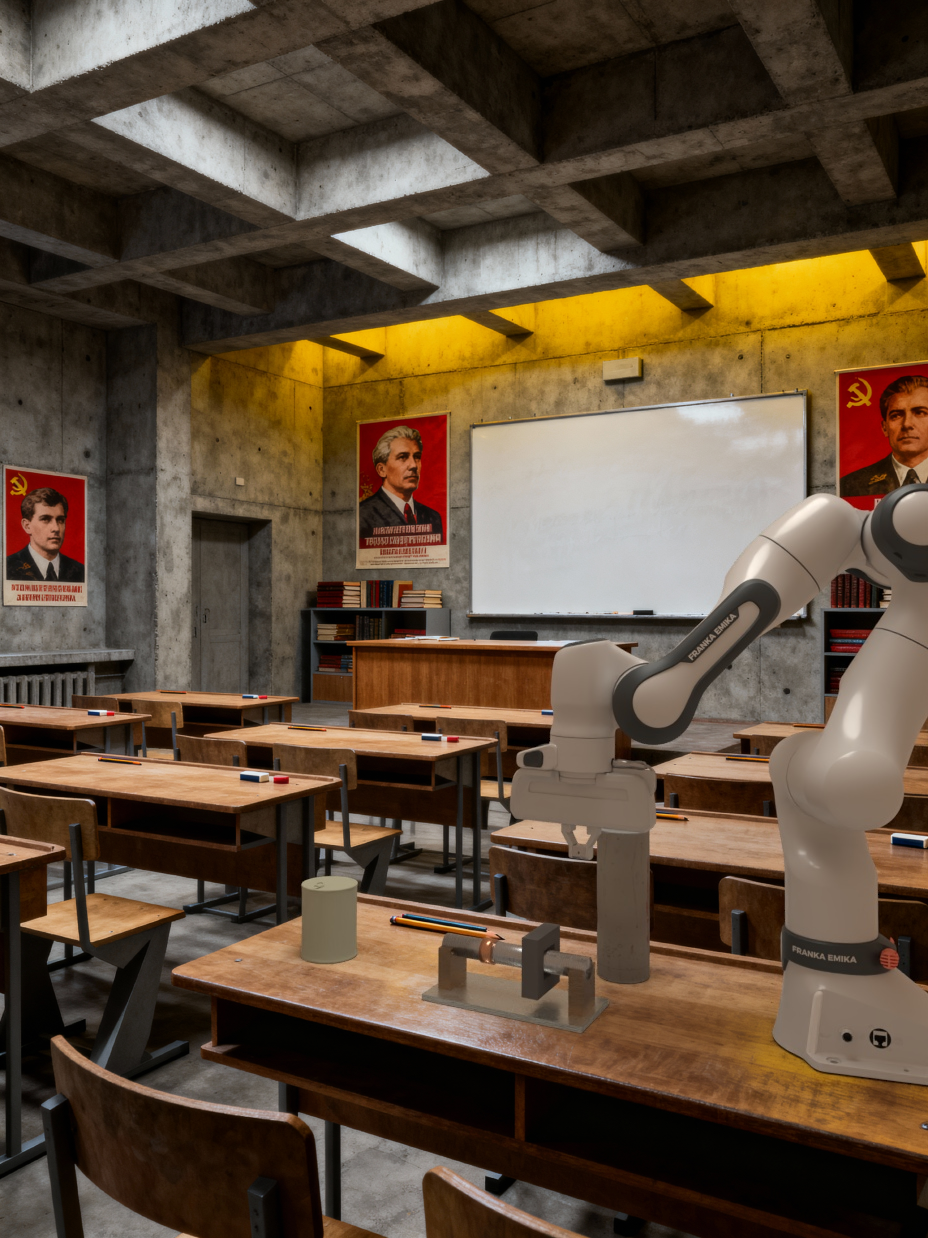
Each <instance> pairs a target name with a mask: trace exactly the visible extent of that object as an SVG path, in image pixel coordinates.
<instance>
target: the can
mask: <svg viewBox="0 0 928 1238" xmlns="http://www.w3.org/2000/svg"><path fill="white" fill-rule="evenodd" d="M358 885H359V882H358V880H356V879H355V878H352V877H348V876H342V875H329V876H328V875H326V876H325V875H324V876H319V877H318V876H317V877H312V878H309V879H306V880H304V881H302V883H301V885H300V886H301V943H300V944H301V947H300V954H299V956H300V959H302V960H303V961H305V962H307V963H308V962H309V963H312V964H320V965H322V964H323V965H327V964H338V963H343V962H344V963H345V962H348V961H351V960H352V959H354V958H355V957H357V956H358V947H357V938H358V937H357V927H358V925H357V924H358V922H357V921H358V920H357V919H358V914H357V913H358V912H357V911H358Z"/></svg>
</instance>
